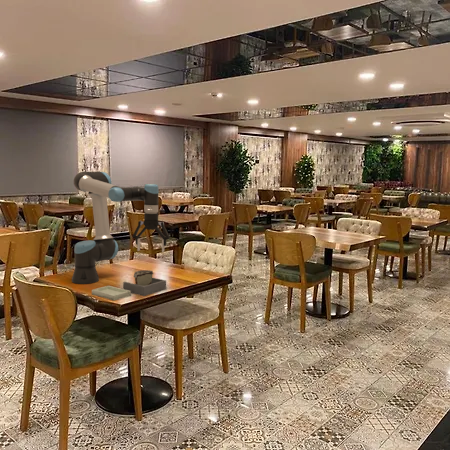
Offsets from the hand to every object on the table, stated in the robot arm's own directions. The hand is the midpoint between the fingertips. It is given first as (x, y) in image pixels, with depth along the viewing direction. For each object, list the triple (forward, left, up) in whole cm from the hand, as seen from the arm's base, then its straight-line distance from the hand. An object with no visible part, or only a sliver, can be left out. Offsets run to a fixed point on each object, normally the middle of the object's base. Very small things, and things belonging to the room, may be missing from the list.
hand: (150, 251), depth 241 cm
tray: (-9, -21, -22) cm, 31 cm away
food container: (-5, -3, -22) cm, 23 cm away
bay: (-2, -3, -22) cm, 22 cm away
